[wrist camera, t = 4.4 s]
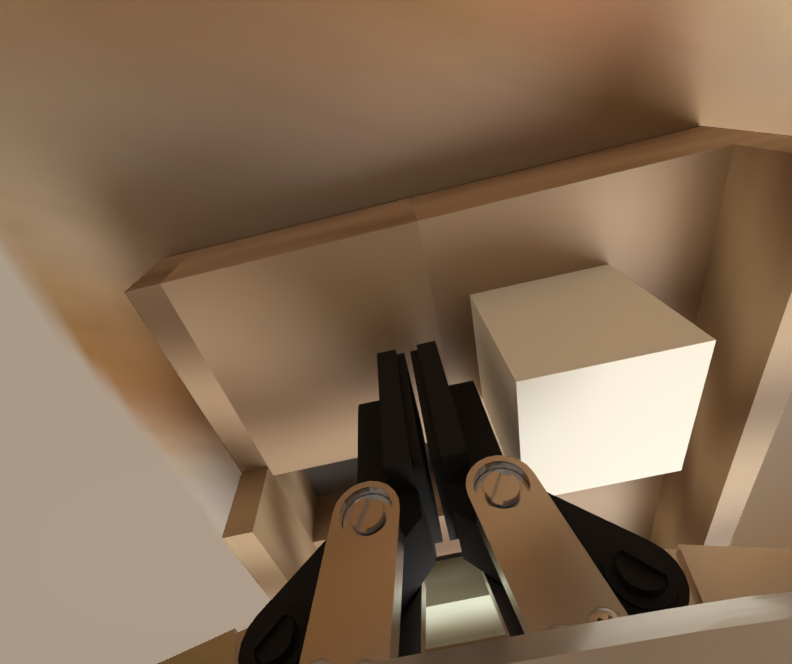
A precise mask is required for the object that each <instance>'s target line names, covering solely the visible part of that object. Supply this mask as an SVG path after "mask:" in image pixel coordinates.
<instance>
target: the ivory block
mask: <svg viewBox="0 0 792 664" xmlns="http://www.w3.org/2000/svg"><path fill="white" fill-rule="evenodd" d="M470 301H471V309H472V318H473V326H474V334H475V343H476V351H477V359H478V368H479V376H480V384H481V393H482V399H483V401H484V404H485V406H486V409H487V411H488V414H489V416H490V419H491V422H492V424H493V427H494V429H495V432H496V434H497V437H498V439H499V442H500V444H501V447H502V449H503V452H504V454H505V456H510V457H513V458H516V459H519V460H520V461H522V462H524V463H525V464H527V465H528V466H529V467H530V469H531V470H532V471H533V472H534V473H535V475H536V476H537V478H538V479H539V481H540V482H541V484H542V485H543V487H544V488H545V490H546V491H547V492H548V493H550V494H552V495H560V494H565V493H570V492H575V491H580V490H585V489H590V488H595V487H600V486H605V485H610V484H615V483H620V482H625V481H631V480H636V479H641V478H646V477H651V476H656V475H661V474H666V473H671V472H676V471H681V470H682V466H683V462H684V458H685V455H686V451H687V447H688V443H689V440H690V436H691V432H692V429H693V425H694V421H695V417H696V414H697V410H698V406H699V402H700V399H701V395H702V391H703V387H704V384H705V380H706V376H707V372H708V369H709V365H710V361H711V358H712V354H713V350H714V346H715V343H716V340H715V339H714V338H713V337H711V336H710V335H708V334H707V333H706V332H704V331H703V330H701V329H700V328H699V327H697V326H696V325H694V324H693V323H691V322H690V321H689V320H687V319H686V318H684V317H683V316H682V315H680V314H679V313H677V312H676V311H674V310H673V309H672V308H670V307H669V306H667V305H666V304H665V303H663V302H662V301H660V300H659V299H658V298H656V297H655V296H653V295H652V294H650V293H649V292H648V291H646V290H645V289H643V288H642V287H641V286H639V285H638V284H636V283H635V282H633V281H632V280H631V279H629V278H628V277H626V276H625V275H624V274H622V273H621V272H619V271H618V270H616V269H615V268H614V267H612V266H611V265H609V264H607V265H602V266H598V267H593V268H589V269H584V270H579V271H575V272H570V273H566V274H561V275H557V276H552V277H548V278H543V279H539V280H534V281H529V282H525V283H520V284H516V285H511V286H507V287H502V288H498V289H493V290H489V291H484V292H480V293H475V294H470Z"/></svg>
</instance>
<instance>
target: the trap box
mask: <svg viewBox="0 0 792 664" xmlns="http://www.w3.org/2000/svg"><path fill="white" fill-rule="evenodd" d="M607 264H609V265H611V266H612V267H614V268H615V269H616V270H618V271H619V272H621V273H622V274H624V275H625V276H626V277H628V278H629V279H631V280H632V281H633V282H635V283H636V284H638V285H639V286H641V287H642V288H643V289H645V290H646V291H648V292H649V293H650V294H652V295H653V296H655V297H656V298H658V299H659V300H660V301H662V302H663V303H665V304H666V305H667V306H669V307H670V308H672V309H673V310H674V311H676V312H677V313H679V314H680V315H682V316H683V317H684V318H686V319H687V320H689V321H690V322H691V323H693V324H694V325H696V326H697V327H699V328H700V329H701V330H703V331H704V332H706V333H707V334H708V335H710V336H711V337H713V338H714V339H715V340H716V343H715V346H714V350H713V354H712V358H711V361H710V365H709V369H708V372H707V376H706V380H705V384H704V387H703V391H702V395H701V399H700V402H699V406H698V410H697V414H696V417H695V421H694V425H693V429H692V432H691V436H690V440H689V443H688V447H687V451H686V455H685V458H684V462H683V466H682V470H681V471H676V472H671V473H666V474H661V475H656V476H651V477H646V478H641V479H636V480H631V481H625V482H620V483H615V484H610V485H605V486H600V487H595V488H590V489H585V490H580V491H575V492H570V493H565V494H560V495H555V496H557V497H559V498H561V499H563V500H565V501H567V502H569V503H571V504H573V505H576V506H578V507H580V508H582V509H584V510H586V511H588V512H590V513H592V514H595V515H597V516H599V517H601V518H603V519H605V520H607V521H609V522H611V523H614V524H616V525H618V526H620V527H622V528H624V529H626V530H628V531H630V532H632V533H635V534H637V535H639V536H641V537H643V538H645V539H647V540H649V541H651V542H653V543H654V544H656V545H658V546H659V547H661V548H663V549H677V548H678V545H679V544H682V545H706V546H729V543H730V541H731V539H732V536H733V534H734V531H735V529H736V526H737V524H738V521H739V519H740V516H741V514H742V511H743V509H744V507H745V504H746V502H747V499H748V497H749V494H750V492H751V489H752V487H753V484H754V482H755V479H756V477H757V474H758V472H759V470H760V467H761V465H762V462H763V460H764V457H765V455H766V452H767V450H768V447H769V445H770V442H771V440H772V437H773V435H774V433H775V430H776V428H777V425H778V423H779V420H780V418H781V415H782V413H783V410H784V408H785V405H786V403H787V401H788V398H789V396H790V393H791V391H792V136H788V135H779V134H770V133H761V132H752V131H743V130H734V129H725V128H716V127H707V126H699V127H695V128H691V129H687V130H682V131H678V132H674V133H670V134H666V135H662V136H658V137H654V138H650V139H646V140H642V141H638V142H634V143H630V144H626V145H621V146H617V147H613V148H609V149H605V150H601V151H597V152H593V153H589V154H585V155H581V156H577V157H573V158H569V159H565V160H561V161H556V162H552V163H548V164H544V165H540V166H536V167H532V168H528V169H524V170H520V171H516V172H512V173H508V174H504V175H500V176H496V177H491V178H487V179H483V180H479V181H475V182H471V183H467V184H463V185H459V186H455V187H451V188H447V189H443V190H439V191H435V192H431V193H426V194H422V195H418V196H414V197H410V198H406V199H402V200H398V201H394V202H390V203H386V204H382V205H378V206H374V207H370V208H366V209H361V210H357V211H353V212H349V213H345V214H341V215H337V216H333V217H329V218H325V219H321V220H317V221H313V222H309V223H305V224H300V225H296V226H292V227H288V228H284V229H280V230H276V231H272V232H268V233H264V234H260V235H256V236H252V237H248V238H244V239H240V240H235V241H231V242H227V243H223V244H219V245H215V246H211V247H207V248H203V249H199V250H195V251H191V252H187V253H183V254H179V255H175V256H170V257H166V258H163V259H162V260H161V261H160V262H159V263H157V264H156V265H155V266H154V267H153V268H152V269H151V270H149V271H148V272H147V273H146V274H145V275H144V276H143V277H141V278H140V279H139V280H138V281H137V282H136V283H134V284H133V285H132V286H131V287H130V288H129V289H128V290H126V291H125V292H124V293H125V294H126V296H127V297H128V299H129V300H130V302H131V303H132V305H133V306H134V308H135V309H136V311H137V312H138V314H139V316H140V317H141V319H142V320H143V322H144V323H145V325H146V326H147V328H148V329H149V331H150V332H151V334H152V335H153V337H154V339H155V340H156V342H157V343H158V345H159V346H160V348H161V349H162V351H163V352H164V354H165V355H166V357H167V358H168V360H169V362H170V363H171V365H172V366H173V368H174V369H175V371H176V372H177V374H178V375H179V377H180V378H181V380H182V381H183V383H184V384H185V386H186V388H187V389H188V391H189V392H190V394H191V395H192V397H193V398H194V400H195V401H196V403H197V404H198V406H199V407H200V409H201V411H202V412H203V414H204V415H205V417H206V418H207V420H208V421H209V423H210V424H211V426H212V427H213V429H214V430H215V432H216V434H217V435H218V437H219V438H220V440H221V441H222V443H223V444H224V446H225V447H226V449H227V450H228V452H229V453H230V455H231V457H232V458H233V460H234V461H235V463H236V464H237V466H238V467H239V469H240V470H241V472H242V474H241V477H240V481H239V484H238V487H237V490H236V494H235V497H234V500H233V503H232V507H231V510H230V513H229V517H228V520H227V523H226V526H225V530H224V533H223V536H222V539H223V540H224V542H225V543H226V544H227V545H228V547H229V548H230V549H231V550H232V552H233V553H234V554H235V555H236V557H237V558H238V559H239V560H240V562H241V563H242V564H243V565H244V567H245V568H246V569H247V570H248V572H249V573H250V574H251V575H252V577H253V578H254V579H255V580H256V582H257V583H258V584H259V585H260V587H261V588H262V589H263V590H264V592H265V593H266V594H267V595H268V597H269V598H270V599H271V600H272V599H273V597H274V596H275V595H276V594H277V593H278V592H279V591H280V590H281V589H282V588H283V586H284V585H285V584H286V583H287V582H288V581H289V580H290V579H291V578H292V576H293V575H294V574H295V573H296V572H297V571H298V570H299V569H300V568H301V567H302V565H303V564H304V563H305V562H306V561H307V560H308V559H309V558H310V557H311V556H312V554H313V553H314V552H315V551H316V550H317V549H318V548H319V547H320V546H321V545H322V543H323V542H324V541H325V540H326V539H327V536H328V531H329V527H330V522H331V518H332V513H333V510H334V508H335V505H336V503H337V501H338V500H339V499H340V497H341V496H342V495H343V494H344V493H345V492H346V491H347V490H348V489H350V488H351V487H353V486H355V485H357V474H358V406H359V404H364V403H368V402H373V401H378V400H379V385H378V368H377V353H381V352H385V351H390V350H395V349H396V352H397V354H400V353H404V354H405V358H406V362H407V366H408V370H409V374H410V379H411V383H412V387H413V391H414V395H415V399H416V403H417V408H418V412H419V416H420V420H421V424H422V429H423V434H424V440H425V445H426V451H427V456H428V462H429V467H430V473H431V478H432V483H433V489H434V494H435V500H436V505H437V511H438V516H439V522H440V527H441V533H442V538H443V542H441V543H435V548H436V554H437V558H435V563H436V564H435V565H434V567H433V568H432V570H431V571H430V573H429V574H428V576H427V577H426V579H425V583H426V652H431V651H436V650H442V649H447V648H452V647H458V646H463V645H469V644H474V643H480V642H485V641H491V640H496V639H502V638H507V636H506V633H505V631H504V628H503V626H502V623H501V621H500V618H499V616H498V613H497V611H496V608H495V606H494V604H493V601H492V599H491V596H490V594H489V591H488V589H487V586H486V584H485V581H484V579H483V576H482V572H481V570H480V569H478V568H477V567H475V566H474V565H472V564H471V563H469V562H468V561H466V560H465V559H463V555H462V551H461V546H460V542H459V539H456V540H451V541H450V539H449V535H448V530H447V526H446V522H445V518H444V514H443V510H442V505H441V501H440V497H439V493H438V489H437V485H436V480H435V476H434V472H433V468H432V464H431V459H430V454H429V449H428V444H427V439H426V434H425V428H424V423H423V418H422V413H421V407H420V402H419V397H418V391H417V386H416V381H415V376H414V370H413V365H412V360H411V354H410V351H414V350H417V345H418V344H422V343H427V342H432V341H435V342H436V345H437V348H438V352H439V355H440V358H441V362H442V365H443V368H444V372H445V375H446V378H447V382H448V385H453V384H458V383H463V382H468V381H472V380H473V382H474V383H475V386H476V388H477V391H478V393H479V396H480V399H481V401H482V404H483V406H484V409H485V411H486V414H487V416H488V419H489V422H490V424H491V427H492V429H493V432H494V434H495V437H496V440H497V442H498V445H499V447H500V450H501V452H502V455H503V456H505V454H504V452H503V449H502V447H501V444H500V442H499V439H498V437H497V434H496V432H495V429H494V427H493V424H492V422H491V419H490V416H489V414H488V411H487V409H486V406H485V404H484V401H483V399H482V393H481V384H480V376H479V368H478V359H477V351H476V343H475V334H474V326H473V318H472V309H471V301H470V294H475V293H480V292H484V291H489V290H493V289H498V288H502V287H507V286H511V285H516V284H520V283H525V282H529V281H534V280H539V279H543V278H548V277H552V276H557V275H561V274H566V273H570V272H575V271H579V270H584V269H589V268H593V267H598V266H602V265H607Z"/></svg>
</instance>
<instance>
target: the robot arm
mask: <svg viewBox="0 0 792 664" xmlns="http://www.w3.org/2000/svg"><path fill="white" fill-rule="evenodd" d="M410 354H411V360H412V365H413V370H414V376H415V381H416V386H417V391H418V397H419V402H420V407H421V413H422V418H423V423H424V428H425V434H426V439H427V444H428V449H429V454H430V459H431V464H432V468H433V472H434V476H435V480H436V485H437V489H438V493H439V497H440V501H441V505H442V510H443V514H444V518H445V522H446V526H447V530H448V535H449V539H450V541H451V540H456V539H459V542H460V546H461V551H462V555H463V559H465V560H466V561H468V562H469V563H471V564H472V565H474V566H475V567H477V568H478V569H480V570H481V572H482V576H483V579H484V581H485V584H486V586H487V589H488V591H489V594H490V596H491V599H492V601H493V604H494V606H495V608H496V611H497V613H498V616H499V618H500V621H501V623H502V626H503V628H504V631H505V633H506V636H507V638H502V639H496V640H491V641H485V642H480V643H474V644H469V645H463V646H458V647H452V648H447V649H442V650H436V651H431V652H426V583H425V579H426V577H427V576H428V574H429V573H430V571H431V570H432V568H433V567H434V565H435V564H436V563H435V558H437V554H436V548H435V543H441V542H443V538H442V533H441V527H440V522H439V516H438V511H437V505H436V500H435V494H434V489H433V483H432V478H431V473H430V467H429V462H428V456H427V451H426V445H425V440H424V434H423V429H422V424H421V420H420V416H419V412H418V408H417V403H416V399H415V395H414V391H413V387H412V383H411V379H410V374H409V370H408V366H407V362H406V358H405V354H404V353H400V354H397V352H396V349H395V350H390V351H385V352H381V353H377V368H378V385H379V400H378V401H373V402H368V403H364V404H359V406H358V474H357V485H355V486H353V487H351V488H350V489H348V490H347V491H346V492H345V493H344V494H343V495H342V496H341V497H340V499H339V500H338V501H337V503H336V505H335V508H334V510H333V513H332V518H331V522H330V527H329V531H328V536H327V539H326V540H325V541H324V542H323V543H322V545H321V546H320V547H319V548H318V549H317V550H316V551H315V552H314V553H313V554H312V556H311V557H310V558H309V559H308V560H307V561H306V562H305V563H304V564H303V565H302V567H301V568H300V569H299V570H298V571H297V572H296V573H295V574H294V575H293V576H292V578H291V579H290V580H289V581H288V582H287V583H286V584H285V585H284V586H283V588H282V589H281V590H280V591H279V592H278V593H277V594H276V595H275V596H274V597H273V599H272V600H271V601H270V602H269V603H268V604H267V605H266V606H265V607H264V608H263V610H262V611H261V612H260V613H259V614H258V615H257V616H256V618H255V619H254V620H253V622H252V623H251V624H250V626H249V627H248V628H247V629H245V630H242V631H240V632H237V631H236V629H233V630H231V631H228V632H226V633H224V634H222V635H220V636H218V637H215V638H213V639H211V640H209V641H206V642H205V643H202V644H200V645H198V646H195V647H193V648H191V649H189V650H187V651H184V652H182V653H180V654H178V655H176V656H173V657H171V658H169V659H167V660H165V661H163V662H160V663H158V664H792V549H777V548H753V547H729V546H706V545H682V544H679V545H678V548H677V549H663V548H661V547H659V546H658V545H656V544H654V543H653V542H651V541H649V540H647V539H645V538H643V537H641V536H639V535H637V534H635V533H632V532H630V531H628V530H626V529H624V528H622V527H620V526H618V525H616V524H614V523H611V522H609V521H607V520H605V519H603V518H601V517H599V516H597V515H595V514H592V513H590V512H588V511H586V510H584V509H582V508H580V507H578V506H576V505H573V504H571V503H569V502H567V501H565V500H563V499H561V498H559V497H557V496H555V495H552V494H550V493H548V492H547V491H546V490H545V488H544V487H543V485H542V484H541V482H540V481H539V479H538V478H537V476H536V475H535V473H534V472H533V471H532V470H531V469H530V467H529V466H528V465H527V464H525V463H524V462H522V461H520V460H519V459H516V458H513V457H510V456H503V455H502V452H501V450H500V447H499V445H498V442H497V440H496V437H495V434H494V432H493V429H492V427H491V424H490V422H489V419H488V416H487V414H486V411H485V409H484V406H483V404H482V401H481V399H480V396H479V393H478V391H477V388H476V386H475V383H474V382H473V380H472V381H468V382H463V383H458V384H453V385H448V382H447V378H446V375H445V372H444V368H443V365H442V362H441V358H440V355H439V352H438V348H437V345H436V342H435V341H432V342H427V343H422V344H418V345H417V350H414V351H410Z"/></svg>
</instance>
